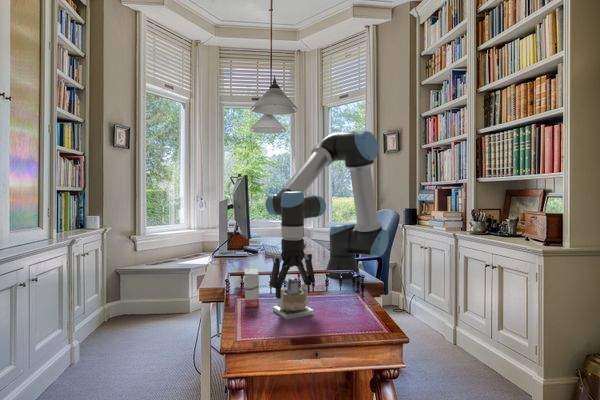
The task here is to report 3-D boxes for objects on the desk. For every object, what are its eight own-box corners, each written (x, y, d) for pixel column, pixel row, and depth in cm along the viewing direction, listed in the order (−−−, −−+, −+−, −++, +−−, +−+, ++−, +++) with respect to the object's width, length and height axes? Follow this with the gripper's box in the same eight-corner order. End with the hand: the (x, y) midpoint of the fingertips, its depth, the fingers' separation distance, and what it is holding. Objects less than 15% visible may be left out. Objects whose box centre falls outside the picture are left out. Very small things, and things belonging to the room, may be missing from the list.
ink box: (258, 307, 149) (258, 273, 149) (244, 307, 149) (244, 274, 148) (259, 299, 158) (258, 268, 157) (245, 300, 158) (245, 268, 157)
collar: (297, 301, 149) (297, 286, 149) (310, 307, 142) (310, 292, 141) (276, 304, 145) (276, 290, 145) (287, 311, 138) (287, 296, 137)
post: (298, 306, 150) (298, 273, 149) (313, 314, 142) (313, 280, 141) (273, 310, 145) (272, 277, 145) (286, 319, 137) (286, 284, 136)
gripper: (314, 234, 150) (314, 297, 152) (258, 239, 140) (259, 307, 141) (325, 237, 144) (325, 303, 145) (268, 242, 133) (269, 314, 135)
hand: (292, 305), depth 143 cm, fingers closed on collar, 8 cm apart
